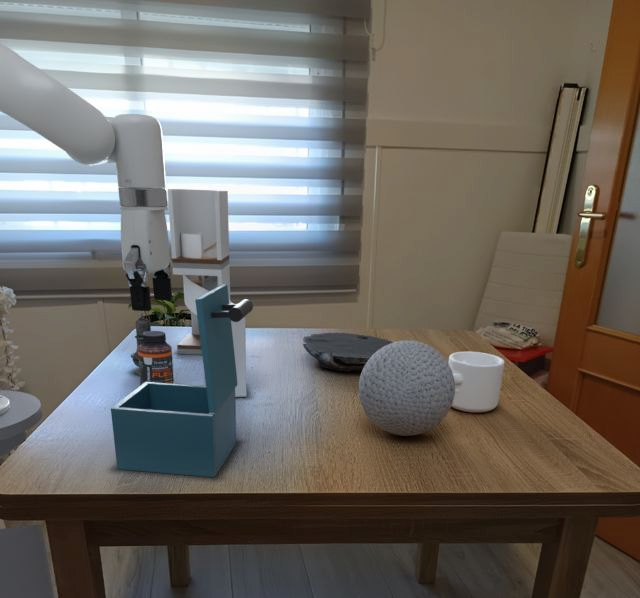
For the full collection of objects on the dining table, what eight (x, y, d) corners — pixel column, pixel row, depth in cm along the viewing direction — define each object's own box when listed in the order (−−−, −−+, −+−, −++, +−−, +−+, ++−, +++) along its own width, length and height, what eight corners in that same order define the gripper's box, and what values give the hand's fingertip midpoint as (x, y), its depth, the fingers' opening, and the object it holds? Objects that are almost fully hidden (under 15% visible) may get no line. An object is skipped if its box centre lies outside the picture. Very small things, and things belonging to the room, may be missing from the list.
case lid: (194, 299, 68) (234, 298, 67) (221, 284, 78) (256, 283, 78) (209, 413, 73) (246, 413, 72) (232, 384, 84) (264, 384, 83)
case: (117, 469, 78) (110, 408, 74) (150, 435, 88) (145, 381, 85) (214, 477, 77) (212, 416, 73) (236, 442, 87) (235, 387, 84)
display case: (188, 341, 142) (180, 189, 129) (231, 343, 142) (227, 190, 129) (177, 353, 132) (167, 189, 118) (223, 355, 132) (219, 190, 119)
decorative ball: (360, 411, 101) (366, 327, 95) (446, 419, 99) (457, 334, 93) (351, 446, 88) (357, 350, 82) (451, 456, 85) (464, 358, 80)
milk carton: (241, 385, 112) (239, 286, 105) (246, 397, 106) (245, 293, 99) (204, 387, 111) (200, 287, 103) (207, 399, 104) (203, 294, 97)
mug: (425, 395, 111) (430, 349, 107) (472, 391, 114) (478, 347, 110) (457, 417, 100) (464, 367, 97) (507, 413, 103) (516, 364, 100)
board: (354, 347, 143) (356, 327, 141) (419, 369, 127) (422, 346, 125) (281, 359, 130) (281, 337, 128) (343, 386, 114) (344, 361, 112)
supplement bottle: (155, 400, 103) (150, 338, 99) (134, 393, 106) (128, 332, 102) (181, 392, 107) (177, 333, 103) (160, 385, 111) (156, 327, 106)
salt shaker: (146, 377, 115) (141, 318, 110) (125, 372, 117) (120, 314, 113) (167, 370, 119) (163, 313, 115) (147, 366, 122) (142, 309, 117)
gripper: (142, 198, 102) (151, 295, 109) (96, 200, 86) (110, 314, 93) (183, 199, 102) (189, 297, 108) (144, 202, 86) (155, 316, 92)
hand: (153, 305), depth 101 cm, fingers open, 9 cm apart
